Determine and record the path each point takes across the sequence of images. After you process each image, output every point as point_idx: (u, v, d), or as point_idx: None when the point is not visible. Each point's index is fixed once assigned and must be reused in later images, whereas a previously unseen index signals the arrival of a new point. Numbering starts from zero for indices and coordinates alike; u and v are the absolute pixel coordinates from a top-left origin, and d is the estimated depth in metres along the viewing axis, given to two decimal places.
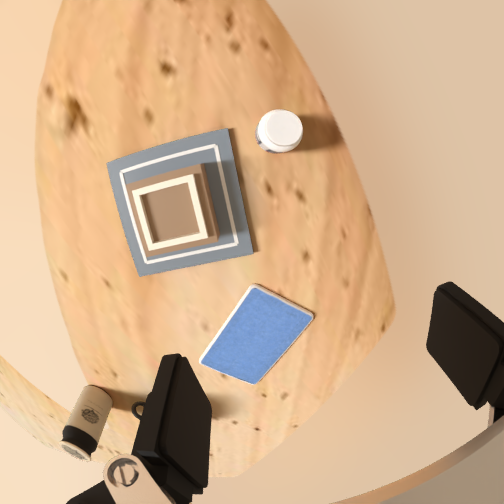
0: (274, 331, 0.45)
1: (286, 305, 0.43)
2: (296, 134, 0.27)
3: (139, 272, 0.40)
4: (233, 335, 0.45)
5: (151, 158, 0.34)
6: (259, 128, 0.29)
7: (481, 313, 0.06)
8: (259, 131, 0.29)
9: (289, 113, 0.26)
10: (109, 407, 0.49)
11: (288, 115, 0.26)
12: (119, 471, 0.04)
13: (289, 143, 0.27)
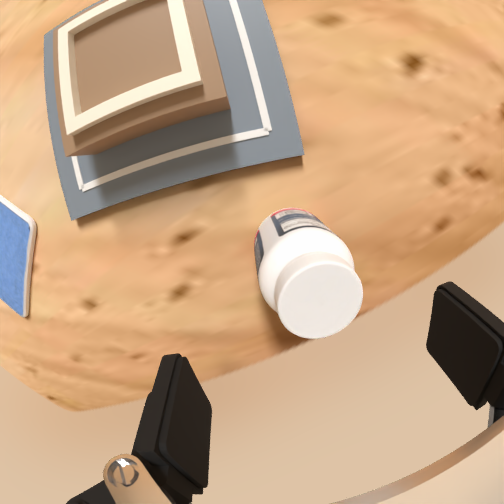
0: None
1: (22, 279, 0.20)
2: (305, 329, 0.12)
3: (49, 33, 0.12)
4: None
5: (245, 16, 0.13)
6: (314, 233, 0.13)
7: (481, 313, 0.06)
8: (307, 233, 0.13)
9: (354, 311, 0.12)
10: None
11: (350, 309, 0.12)
12: (119, 471, 0.04)
13: (283, 317, 0.12)
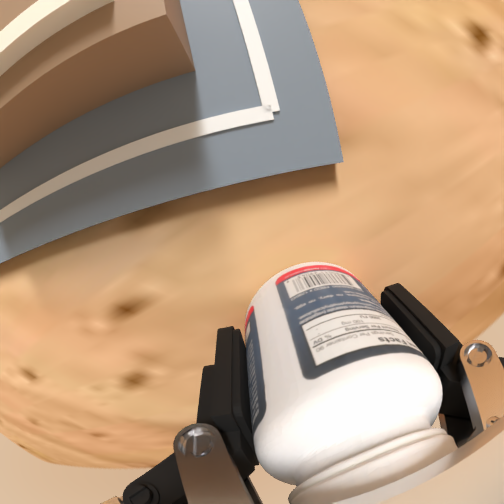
0: None
1: None
2: None
3: None
4: None
5: None
6: (392, 379, 0.04)
7: (422, 316, 0.07)
8: (377, 382, 0.04)
9: None
10: None
11: None
12: (191, 442, 0.05)
13: None
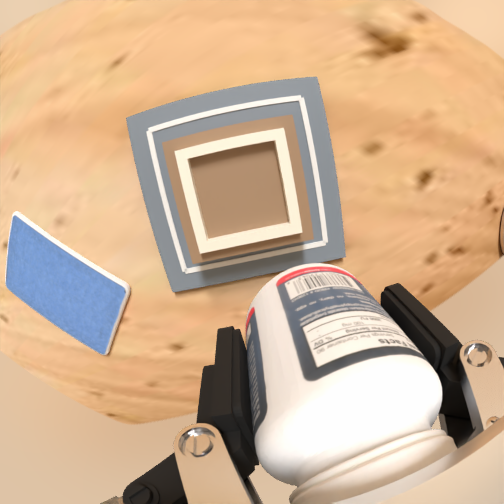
0: (74, 313, 0.28)
1: (110, 327, 0.29)
2: None
3: (132, 118, 0.21)
4: (56, 261, 0.26)
5: (317, 149, 0.23)
6: (393, 380, 0.04)
7: (422, 316, 0.07)
8: (377, 384, 0.04)
9: None
10: None
11: None
12: (191, 442, 0.05)
13: None
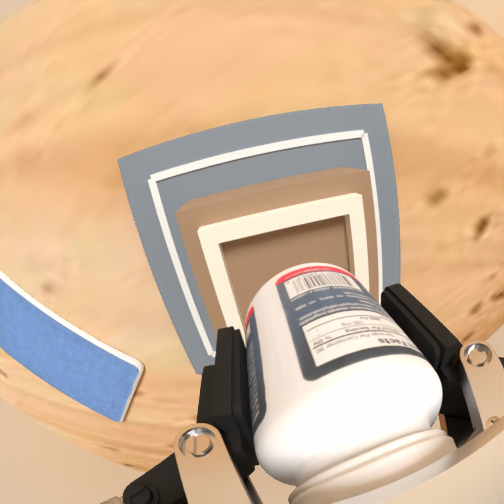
0: (80, 384, 0.22)
1: (124, 401, 0.23)
2: None
3: (127, 159, 0.16)
4: (51, 332, 0.20)
5: (381, 204, 0.17)
6: (392, 380, 0.04)
7: (422, 316, 0.07)
8: (377, 384, 0.04)
9: None
10: None
11: None
12: (191, 442, 0.05)
13: None
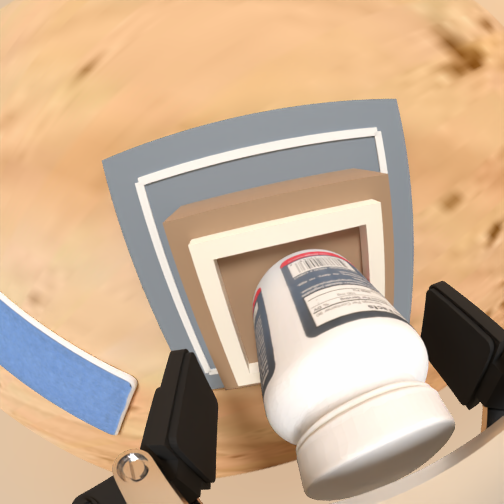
0: (72, 397, 0.20)
1: (118, 415, 0.21)
2: (347, 494, 0.05)
3: (112, 161, 0.14)
4: (39, 344, 0.18)
5: (394, 210, 0.15)
6: (380, 336, 0.06)
7: (473, 313, 0.06)
8: (367, 338, 0.06)
9: (429, 457, 0.04)
10: None
11: (424, 458, 0.04)
12: (128, 466, 0.04)
13: (313, 494, 0.04)
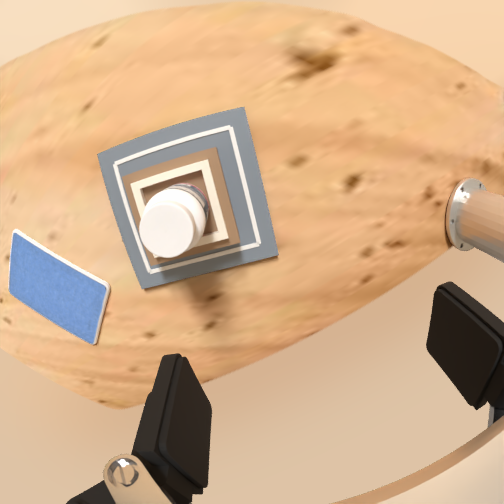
0: (67, 310, 0.34)
1: (96, 320, 0.34)
2: (158, 249, 0.19)
3: (102, 154, 0.27)
4: (51, 268, 0.31)
5: (245, 168, 0.30)
6: (170, 191, 0.20)
7: (481, 313, 0.06)
8: (166, 192, 0.20)
9: (189, 237, 0.19)
10: None
11: (185, 235, 0.19)
12: (119, 471, 0.04)
13: (143, 240, 0.18)
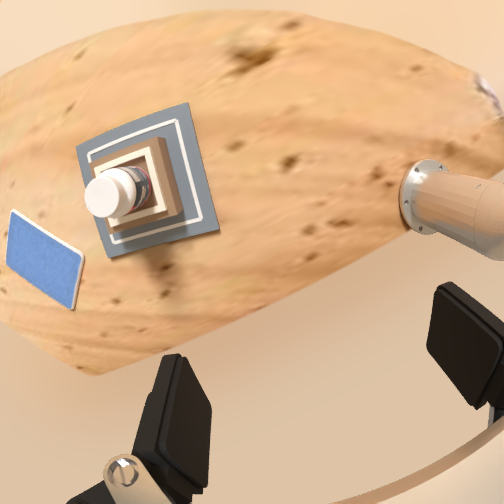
0: (51, 277, 0.39)
1: (73, 286, 0.39)
2: (96, 211, 0.23)
3: (79, 146, 0.32)
4: (39, 241, 0.36)
5: (188, 153, 0.34)
6: (110, 170, 0.24)
7: (481, 313, 0.06)
8: (107, 170, 0.24)
9: (116, 201, 0.23)
10: None
11: (114, 200, 0.23)
12: (119, 471, 0.04)
13: (87, 205, 0.23)
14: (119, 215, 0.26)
